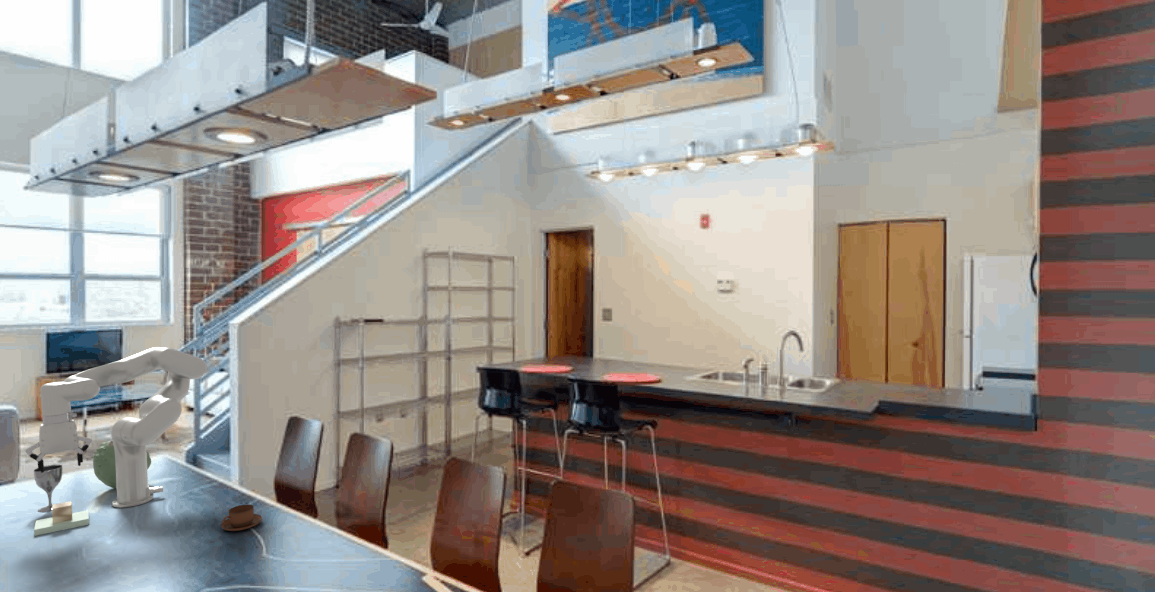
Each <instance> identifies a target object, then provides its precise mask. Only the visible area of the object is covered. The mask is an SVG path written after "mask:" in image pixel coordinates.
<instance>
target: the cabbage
mask: <svg viewBox="0 0 1155 592" xmlns="http://www.w3.org/2000/svg"><path fill="white" fill-rule="evenodd" d="M146 452H147V471H148V470H149V468H150V467H151V465H152V459H151V455H150V453H149V452H148V450H146ZM91 458H92V459H93V461H92V466H93V472H94V474H95V477H96V479H98V480H99V481H100V482H102V483H103V484H104V485H105V486H107V487H110V488H113V489H117V487H116V466H115V451H114V445H113V442H112V440H109V441H108V440H107V441H106V442H104V441H103V442H102V443H99V445H98V448H96V451H94V452H93V456H91Z"/></svg>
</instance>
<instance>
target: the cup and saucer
mask: <svg viewBox="0 0 1155 592" xmlns="http://www.w3.org/2000/svg"><path fill="white" fill-rule="evenodd" d="M254 510H255V509H254V505H252V504H240V505H236V506H233V507H231V508H229V510H228V515H226V516H225V517H223V519H222V521H221V523H220V527H221V529H223V530H224V531H228V532H239V531H240V532H241V531H245V530H248V529H250V528H251V529H252V528H253V527H256V526H257V525H259V524H260V523H261V521H262V519H263V517H262V515H259V514H257V513H256V514H255V511H254Z"/></svg>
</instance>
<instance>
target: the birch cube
mask: <svg viewBox="0 0 1155 592" xmlns="http://www.w3.org/2000/svg"><path fill="white" fill-rule="evenodd" d="M52 505H53V506H52V511H51V516H52V519H53V524H54V523H59V522H64V521H69V520H72V513H73V502H72V501H71V500H70V501H65V502H60V503H59V502H58V503H53V504H52Z"/></svg>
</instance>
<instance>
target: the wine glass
mask: <svg viewBox="0 0 1155 592" xmlns="http://www.w3.org/2000/svg"><path fill="white" fill-rule="evenodd" d="M63 472H64V471H63V465H62V464H50V465H44V472H43V473H41V470H38V467H37V468H34V469H33V476H34V477H33V478H34V481H35V484H36V486H37V487H38V488H40V489H41V490H43V491H44V492H45V493H46V495H47V499H48V505H46V506H44V507H41V508H38V510H37V513H49V512H52V506H53V505H54V504H52V496H53V491H54V490H55V489H56V488H57V487H58V486H59V484H60V483H61V481H62V479H63Z"/></svg>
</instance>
